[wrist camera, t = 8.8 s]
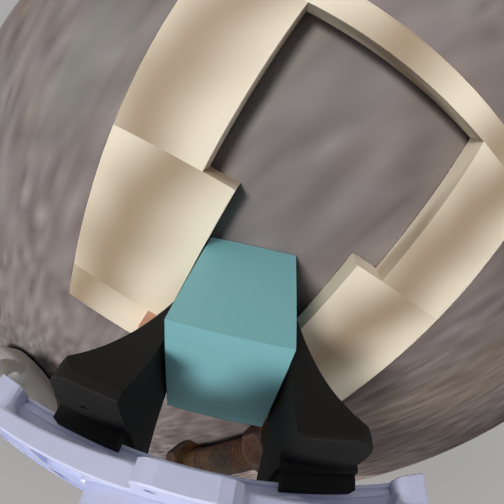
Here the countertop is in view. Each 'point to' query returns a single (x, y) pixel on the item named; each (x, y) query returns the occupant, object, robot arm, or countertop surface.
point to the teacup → (27, 376)
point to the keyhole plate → (223, 187)
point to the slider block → (232, 332)
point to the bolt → (223, 453)
